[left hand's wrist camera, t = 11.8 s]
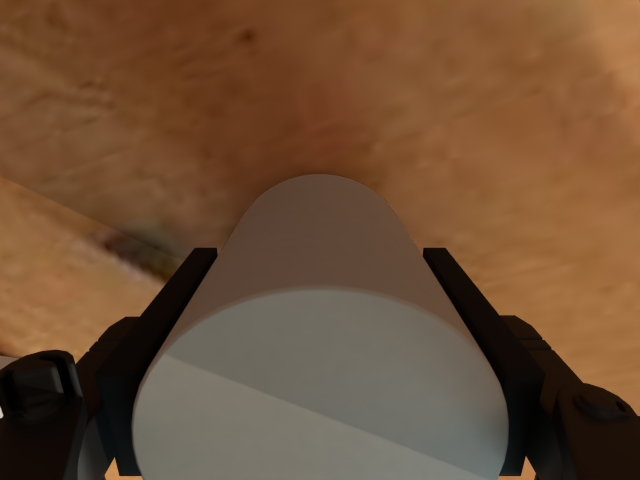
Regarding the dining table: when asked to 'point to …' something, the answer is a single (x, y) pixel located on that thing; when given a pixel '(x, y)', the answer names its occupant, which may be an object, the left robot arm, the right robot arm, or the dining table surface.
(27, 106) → the dining table surface
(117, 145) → the dining table surface
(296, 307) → the gray cylinder
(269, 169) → the dining table surface
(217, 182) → the dining table surface
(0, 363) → the white angled block
